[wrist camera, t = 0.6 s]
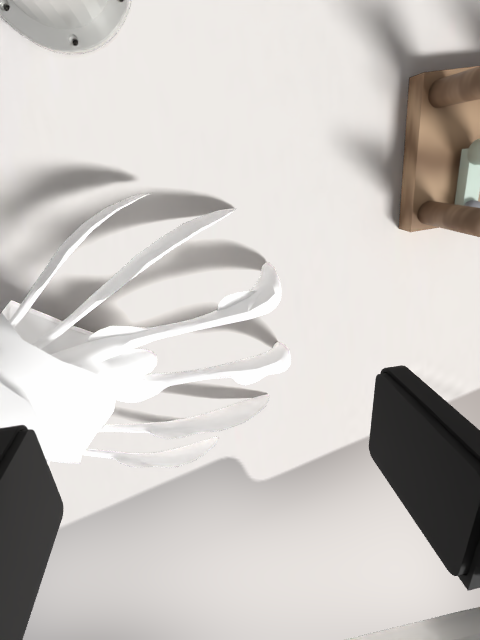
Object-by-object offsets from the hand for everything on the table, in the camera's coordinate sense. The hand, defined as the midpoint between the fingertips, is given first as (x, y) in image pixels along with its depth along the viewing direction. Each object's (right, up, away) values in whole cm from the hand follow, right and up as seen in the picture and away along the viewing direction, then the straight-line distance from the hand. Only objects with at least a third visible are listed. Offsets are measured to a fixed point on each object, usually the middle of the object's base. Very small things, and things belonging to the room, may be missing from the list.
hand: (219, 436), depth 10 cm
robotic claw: (-14, +1, +35) cm, 38 cm away
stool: (+26, +23, +32) cm, 48 cm away
